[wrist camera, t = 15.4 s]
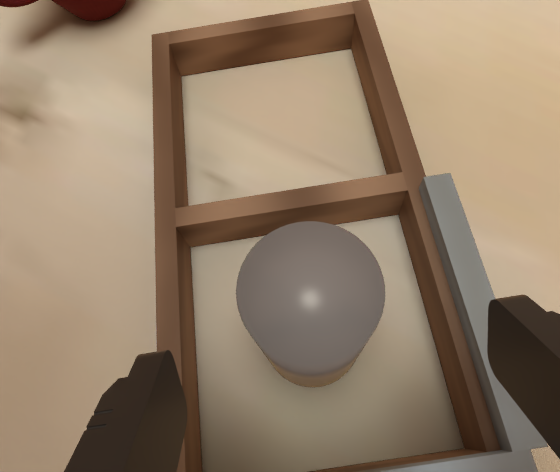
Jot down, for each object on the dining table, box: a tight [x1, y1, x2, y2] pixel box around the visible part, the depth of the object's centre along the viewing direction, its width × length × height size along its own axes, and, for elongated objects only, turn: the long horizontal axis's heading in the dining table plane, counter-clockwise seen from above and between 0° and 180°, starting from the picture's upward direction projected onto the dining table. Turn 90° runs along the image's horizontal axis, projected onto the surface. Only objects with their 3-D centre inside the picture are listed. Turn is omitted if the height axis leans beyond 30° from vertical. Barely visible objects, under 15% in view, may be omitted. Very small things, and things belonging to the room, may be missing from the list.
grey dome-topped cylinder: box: [236, 221, 385, 387], centre depth 16 cm, size 4×4×8 cm
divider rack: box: [152, 0, 548, 472], centre depth 21 cm, size 14×25×4 cm, turn 8°
